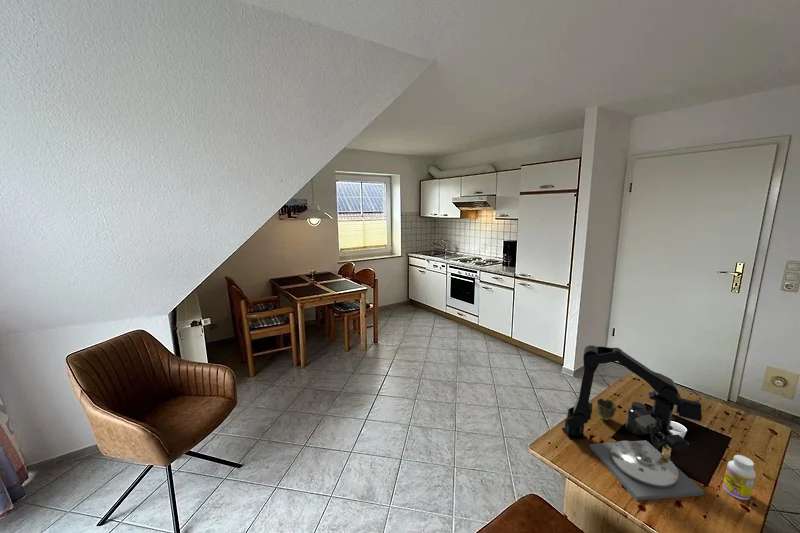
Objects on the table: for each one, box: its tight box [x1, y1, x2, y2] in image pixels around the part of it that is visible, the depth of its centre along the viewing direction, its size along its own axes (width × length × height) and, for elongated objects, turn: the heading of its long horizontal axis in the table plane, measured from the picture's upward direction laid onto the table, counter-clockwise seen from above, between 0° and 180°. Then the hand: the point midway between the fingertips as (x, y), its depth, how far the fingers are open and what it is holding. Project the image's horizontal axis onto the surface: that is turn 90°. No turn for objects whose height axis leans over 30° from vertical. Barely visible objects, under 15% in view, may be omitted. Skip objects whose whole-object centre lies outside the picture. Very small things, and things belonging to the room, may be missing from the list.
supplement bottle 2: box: [722, 454, 757, 501], centre depth 111 cm, size 7×7×13 cm
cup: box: [596, 398, 618, 422], centre depth 149 cm, size 8×7×8 cm
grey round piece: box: [610, 440, 678, 488], centre depth 121 cm, size 20×20×7 cm
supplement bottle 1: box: [625, 401, 647, 436], centre depth 142 cm, size 7×7×12 cm
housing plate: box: [589, 439, 705, 502], centre depth 122 cm, size 24×24×2 cm
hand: (655, 448), depth 126 cm, fingers closed
